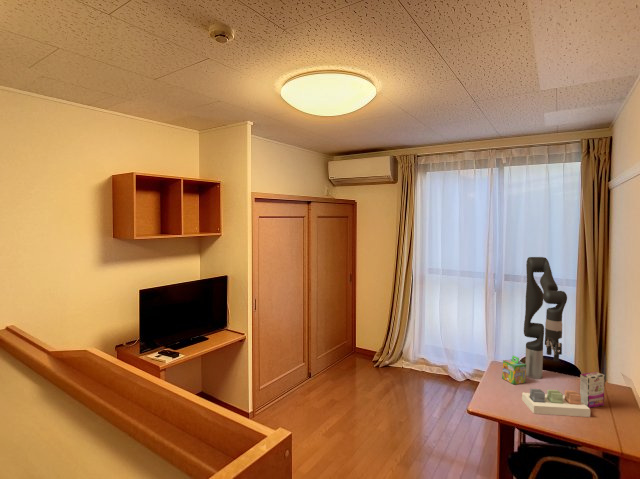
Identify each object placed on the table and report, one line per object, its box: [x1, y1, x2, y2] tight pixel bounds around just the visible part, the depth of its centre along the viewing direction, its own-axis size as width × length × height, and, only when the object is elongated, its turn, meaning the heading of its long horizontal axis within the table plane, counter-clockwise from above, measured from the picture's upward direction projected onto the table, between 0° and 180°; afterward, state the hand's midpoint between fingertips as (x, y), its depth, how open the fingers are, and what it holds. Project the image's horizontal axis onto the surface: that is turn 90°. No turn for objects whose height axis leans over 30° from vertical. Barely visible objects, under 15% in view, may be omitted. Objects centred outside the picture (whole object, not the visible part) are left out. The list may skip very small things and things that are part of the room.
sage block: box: [546, 389, 564, 404], centre depth 187 cm, size 5×5×6 cm
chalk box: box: [501, 355, 527, 385], centre depth 218 cm, size 9×9×15 cm
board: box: [521, 392, 591, 418], centre depth 187 cm, size 14×26×4 cm, turn 83°
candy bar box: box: [579, 371, 606, 409], centre depth 190 cm, size 11×5×16 cm, turn 105°
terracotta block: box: [564, 390, 581, 405], centre depth 186 cm, size 5×5×6 cm
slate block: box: [529, 388, 546, 403], centre depth 188 cm, size 5×5×6 cm
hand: (552, 357), depth 192 cm, fingers open, 8 cm apart
